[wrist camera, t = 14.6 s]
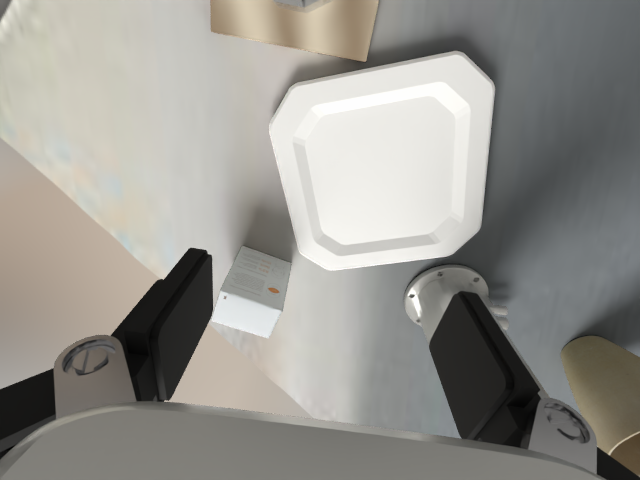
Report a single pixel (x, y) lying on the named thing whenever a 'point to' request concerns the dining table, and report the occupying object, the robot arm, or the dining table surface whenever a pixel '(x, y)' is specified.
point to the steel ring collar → (301, 4)
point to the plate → (386, 160)
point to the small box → (253, 293)
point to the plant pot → (607, 395)
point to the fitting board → (300, 25)
